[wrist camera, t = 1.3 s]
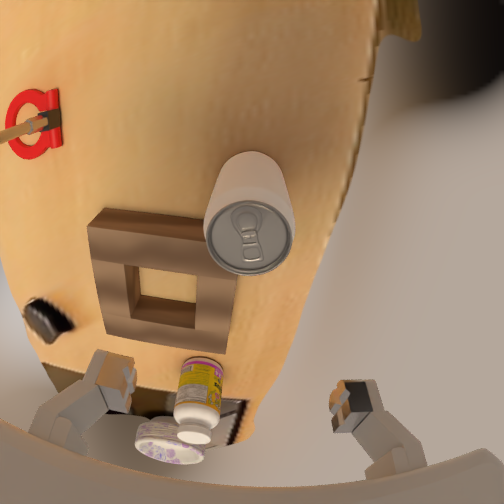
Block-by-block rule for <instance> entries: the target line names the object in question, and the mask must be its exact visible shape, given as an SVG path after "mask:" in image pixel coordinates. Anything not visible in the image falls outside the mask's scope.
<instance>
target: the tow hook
mask: <svg viewBox="0 0 504 504" xmlns="http://www.w3.org/2000/svg"><path fill="white" fill-rule="evenodd" d="M25 103H32V104H34V105H35V106H36V107H37V108H38V110H39V111H45V110H47V111H45V112H41V113H38V116H36V117H33V118H29V119H27V120H26V121H25V122H24V123H22V124H19V125H16V117H17V114H18V111H19V109H20V108H21V107H22V106H23V105H24V104H25ZM60 126H61V122H60V110H59V108H58V89H52V90H48V91H46V94H43V93H42V92H41V91H38V90H36V89H31V90H25V91H23V92H21V93H19V94H18V95H17V96H16V97H15V98H14V99H13V101H12V102H11V103H10V106H9V108H8V111H7V115H6V119H5V130H2V131H0V144H3V143H5V142H7V141H8V143H9V145H10V147H11V148H12V150H13V151H14V152H15V153H16V154H17V155H18V156H19V157H21V158H23V159H34V158H36V157H38V156H40V155H41V154H43V153H44V152H45V151H46V150H47V148H48V147H51V149H53V148H57V147H60V146H62V141H61V131H60ZM36 132H41V136H40V138H39V140H38V141H37V143H36V144H35V145H33V146H27V145H25V144H23V143H22V142H21V141H20V139H19V136H22V135H24V134H28V135H31V134H33V133H36Z"/></svg>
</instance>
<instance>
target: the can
mask: <svg viewBox="0 0 504 504" xmlns="http://www.w3.org/2000/svg"><path fill="white" fill-rule="evenodd" d="M203 230H204V236H205V239H206V244H207V248H208V251H209V253H210V255H211V257H212V258H213V259H214V261H215V262H216V263H217V264H218V265H219V266H221V267H222V268H224V269H225V270H227V271H229V272H231V273H234V274H237V275H243V276H256V275H261V274H265V273H267V272H270V271H272V270H274V269H275V268H277V267H278V266H279V265H280V264H281V263H282V262H283V261H284V260H285V259H286V257H287V256H288V254H289V252H290V249H291V246H292V242H293V239H294V236H295V218H294V213H293V209H292V205H291V202H290V198H289V194H288V191H287V187H286V184H285V180H284V177H283V174H282V171H281V169H280V167H279V166H278V164H277V163H276V162H275V161H274V160H273V159H272V158H270V157H269V156H267V155H265V154H263V153H260V152H256V151H248V152H243V153H239V154H237V155H235V156H233V157H231V158H230V159H229V160H228V161H227V162H226V163H225V164H224V165H223V167H222V169H221V171H220V173H219V176H218V178H217V181H216V184H215V186H214V189H213V192H212V195H211V198H210V201H209V204H208V207H207V210H206V213H205V217H204V225H203Z"/></svg>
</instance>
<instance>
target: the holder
mask: <svg viewBox="0 0 504 504" xmlns="http://www.w3.org/2000/svg"><path fill="white" fill-rule="evenodd" d="M203 225H204V220H200V219H193V218H185V217H177V216H169V215H161V214H153V213H144V212H136V211H127V210H118V209H109V208H104V209H103V210H102V211H101V212H100V213H99V214H98V215H97V216H96V217H95V218H94V219H93V220H92V221H91V222H90V223H89V224H88V226H87V232H88V240H89V247H90V254H91V261H92V267H93V272H94V278H95V284H96V289H97V294H98V299H99V303H100V308H101V312H102V317H103V321H104V325H105V329H106V333H107V334H109V335H114V336H118V337H123V338H128V339H132V340H137V341H143V342H148V343H153V344H159V345H164V346H170V347H176V348H183V349H189V350H196V351H203V352H210V353H218V354H226V347H227V341H228V334H229V328H230V322H231V315H232V309H233V302H234V296H235V290H236V283H237V277H238V275H237V274H234V273H231V272H229V271H227V270H225V269H224V268H222V267H221V266H219V265H218V264H217V263H216V262H215V261H214V259H213V258H212V257H211V255H210V253H209V251H208V248H207V244H206V239H205V236H204V230H203ZM138 267H144V268H150V269H157V270H163V271H170V272H177V273H184V274H191V275H198V278H197V295H196V304H195V303H188V302H182V301H175V300H169V299H162V298H156V297H150V296H144V295H141V292H140V281H139V268H138Z"/></svg>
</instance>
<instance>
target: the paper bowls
mask: <svg viewBox="0 0 504 504" xmlns="http://www.w3.org/2000/svg"><path fill="white" fill-rule="evenodd" d="M179 425H180V424H179V423H178V422H177V421H176V420H175V418H174V417H171V416H158V417H155V418H153V419H151V420H150V421H149V422H145V423H142V424H140V425H139V427H138V430H137V435H136V441H135V447H136V448H137V449H138V450H139V451H140V452H141V453H143V454H145V455H147V456H149V457H151V458H154V459H157V460H160V461H164V462H168V463H175V464H194V463H198V462H201V461H202V460H203V459H204V454H205V444H192V443H188V442H185V441H182V440H180V439H179V438H178V437H177V431H178V427H179Z"/></svg>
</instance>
